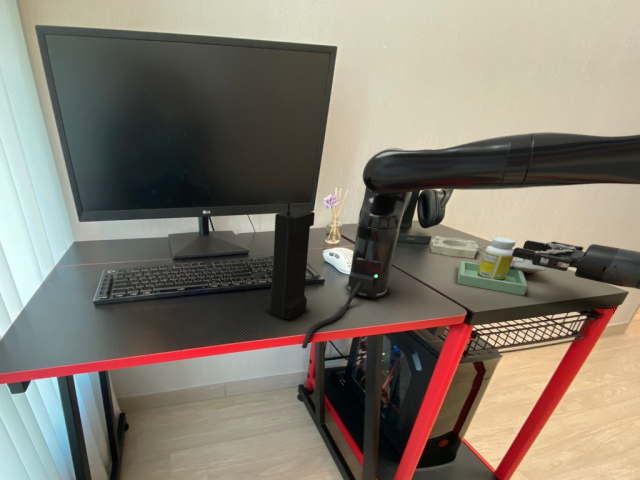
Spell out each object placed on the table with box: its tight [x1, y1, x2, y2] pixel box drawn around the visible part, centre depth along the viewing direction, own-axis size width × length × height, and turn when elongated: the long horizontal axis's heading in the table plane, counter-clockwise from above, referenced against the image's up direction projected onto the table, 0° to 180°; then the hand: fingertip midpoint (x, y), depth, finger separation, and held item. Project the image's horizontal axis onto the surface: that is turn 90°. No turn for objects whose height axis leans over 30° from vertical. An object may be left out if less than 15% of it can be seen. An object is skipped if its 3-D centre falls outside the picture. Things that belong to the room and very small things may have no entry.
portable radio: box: [268, 201, 316, 321], centre depth 69 cm, size 8×6×25 cm
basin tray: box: [457, 260, 529, 296], centre depth 86 cm, size 12×14×2 cm
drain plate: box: [429, 235, 479, 259], centre depth 109 cm, size 13×13×2 cm
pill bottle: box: [477, 236, 517, 281], centre depth 84 cm, size 6×6×11 cm
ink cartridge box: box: [476, 246, 547, 274], centre depth 90 cm, size 9×5×15 cm
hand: (519, 247), depth 80 cm, fingers open, 8 cm apart
